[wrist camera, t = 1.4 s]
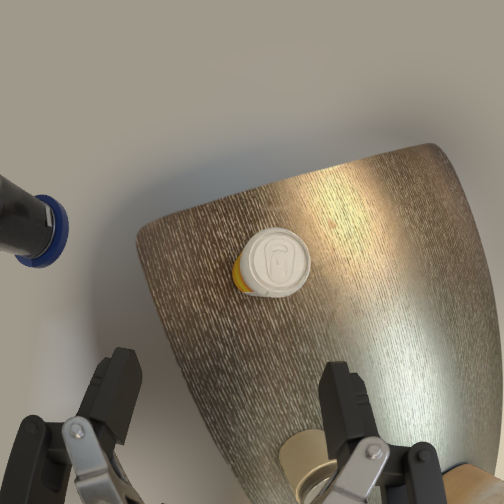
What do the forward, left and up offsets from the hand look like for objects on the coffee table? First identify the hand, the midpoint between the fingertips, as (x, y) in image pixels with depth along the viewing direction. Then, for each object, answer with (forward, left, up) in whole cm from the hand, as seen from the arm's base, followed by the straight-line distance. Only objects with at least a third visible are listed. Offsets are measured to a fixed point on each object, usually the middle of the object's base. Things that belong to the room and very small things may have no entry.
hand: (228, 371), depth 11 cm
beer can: (+6, +5, -27) cm, 28 cm away
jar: (+10, -24, -27) cm, 37 cm away
